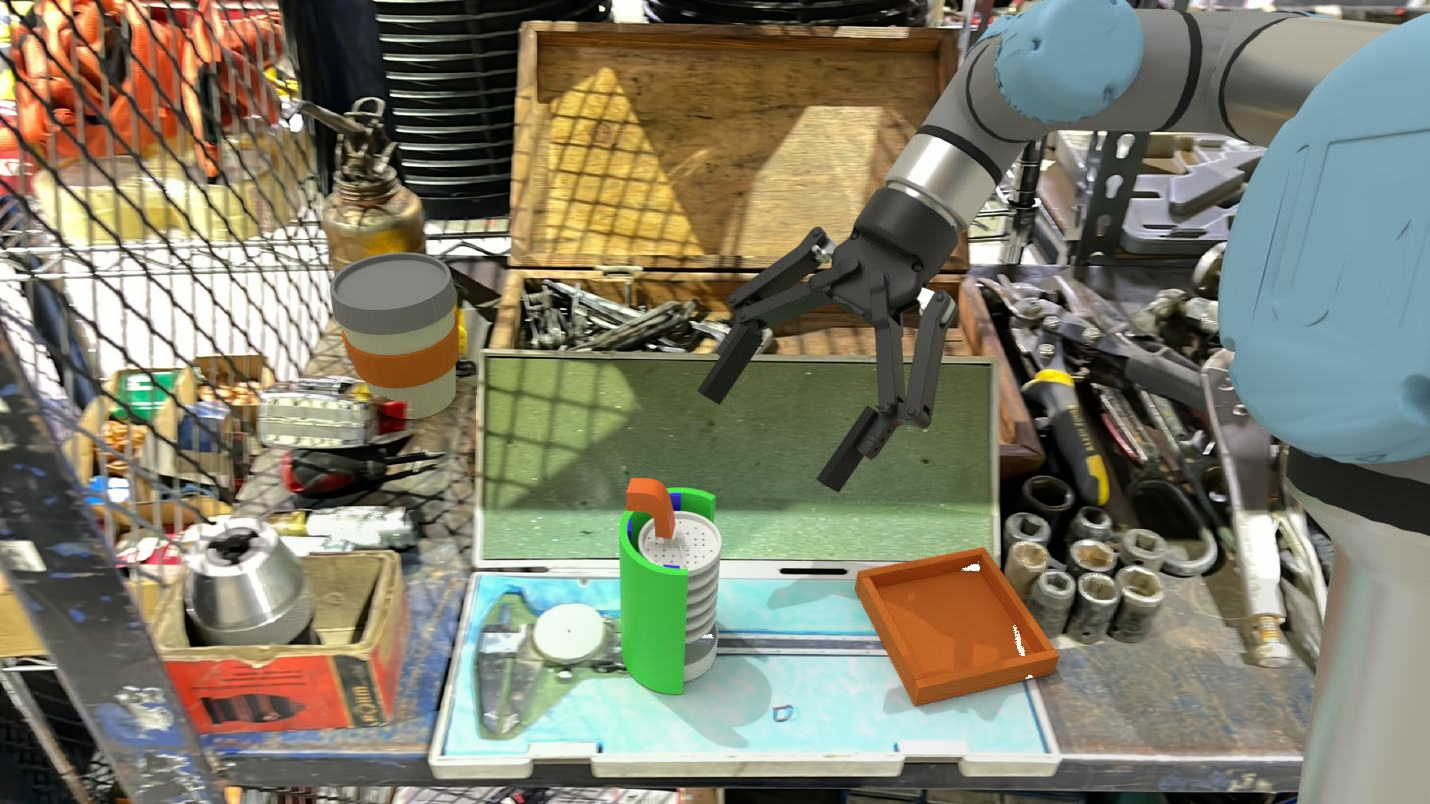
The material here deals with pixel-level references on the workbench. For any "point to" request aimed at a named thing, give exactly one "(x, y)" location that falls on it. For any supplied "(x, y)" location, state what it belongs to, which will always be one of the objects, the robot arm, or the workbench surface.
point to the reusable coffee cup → (400, 327)
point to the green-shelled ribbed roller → (668, 583)
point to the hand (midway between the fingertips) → (764, 440)
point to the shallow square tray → (953, 625)
